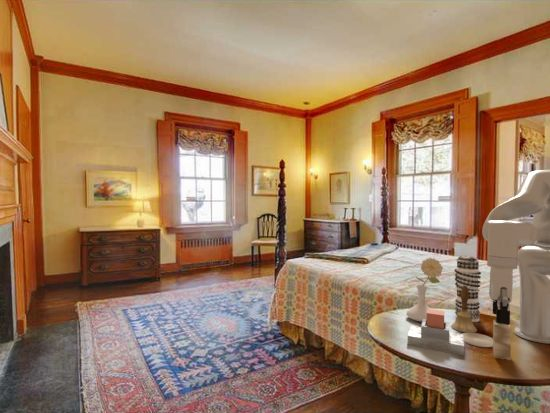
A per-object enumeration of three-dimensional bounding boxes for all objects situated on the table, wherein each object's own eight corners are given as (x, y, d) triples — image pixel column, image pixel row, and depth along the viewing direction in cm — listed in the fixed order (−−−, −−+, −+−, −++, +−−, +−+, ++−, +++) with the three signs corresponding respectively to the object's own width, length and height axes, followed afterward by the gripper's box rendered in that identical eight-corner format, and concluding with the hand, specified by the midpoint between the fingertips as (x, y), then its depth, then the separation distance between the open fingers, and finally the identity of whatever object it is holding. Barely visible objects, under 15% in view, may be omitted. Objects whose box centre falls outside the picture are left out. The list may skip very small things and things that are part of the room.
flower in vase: (404, 321, 127) (405, 258, 127) (407, 313, 138) (408, 254, 137) (442, 327, 121) (442, 260, 121) (442, 318, 131) (442, 256, 131)
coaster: (486, 335, 114) (486, 333, 114) (501, 348, 104) (501, 345, 104) (455, 333, 116) (455, 331, 116) (468, 346, 106) (468, 343, 106)
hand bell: (477, 327, 122) (477, 284, 122) (476, 334, 115) (477, 289, 115) (451, 323, 126) (452, 282, 126) (450, 329, 119) (450, 286, 119)
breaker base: (462, 343, 108) (463, 323, 108) (463, 355, 99) (464, 334, 99) (410, 333, 115) (411, 315, 115) (407, 344, 107) (407, 324, 107)
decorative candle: (474, 324, 125) (475, 259, 125) (450, 317, 133) (450, 256, 132) (484, 319, 131) (485, 257, 130) (460, 312, 138) (461, 254, 138)
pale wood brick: (508, 355, 99) (508, 322, 99) (510, 360, 96) (510, 326, 96) (492, 352, 101) (493, 320, 101) (494, 357, 98) (494, 324, 98)
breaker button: (444, 324, 108) (444, 310, 108) (443, 329, 104) (443, 315, 104) (427, 321, 111) (427, 308, 110) (426, 326, 106) (426, 312, 106)
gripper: (484, 257, 108) (483, 309, 108) (490, 264, 93) (488, 325, 92) (512, 260, 104) (511, 313, 104) (522, 267, 89) (521, 330, 89)
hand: (500, 318), depth 98 cm, fingers open, 9 cm apart
